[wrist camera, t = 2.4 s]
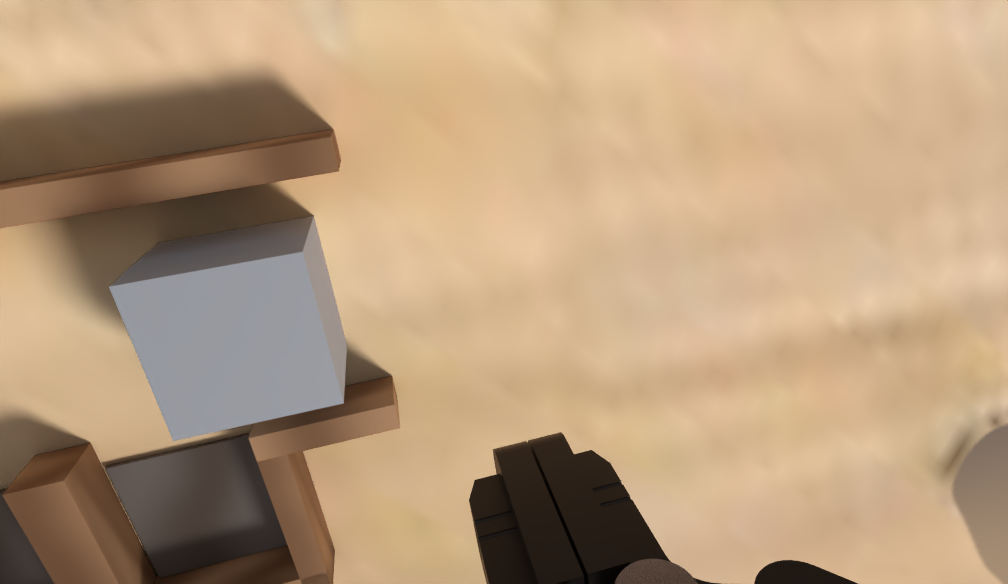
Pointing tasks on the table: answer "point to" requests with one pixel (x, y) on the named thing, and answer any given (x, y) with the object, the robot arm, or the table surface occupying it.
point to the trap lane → (194, 470)
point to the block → (235, 326)
